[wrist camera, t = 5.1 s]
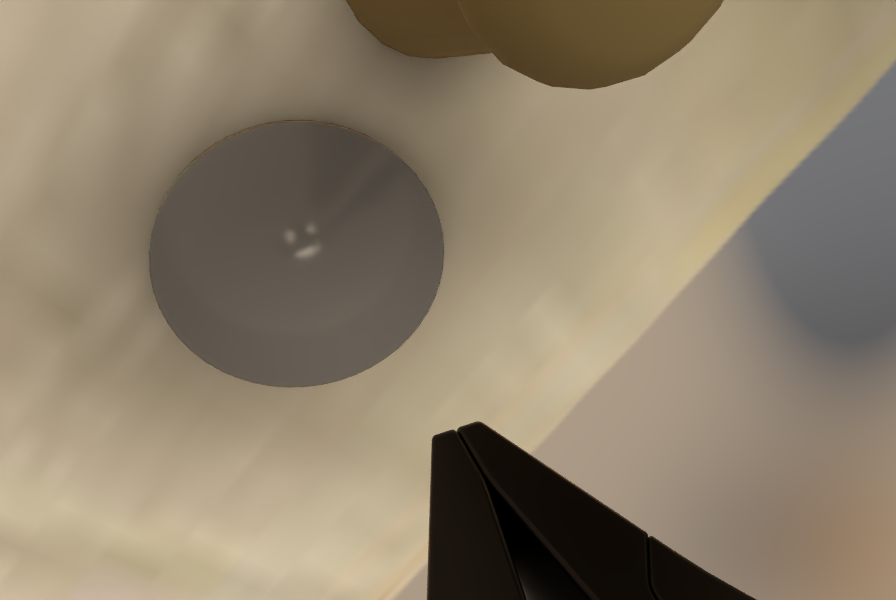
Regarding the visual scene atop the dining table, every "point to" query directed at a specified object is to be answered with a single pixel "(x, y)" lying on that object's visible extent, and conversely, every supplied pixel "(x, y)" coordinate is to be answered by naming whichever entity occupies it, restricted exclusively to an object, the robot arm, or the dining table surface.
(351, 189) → the coaster empty
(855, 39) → the dining table surface
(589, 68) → the brown rounded piece
